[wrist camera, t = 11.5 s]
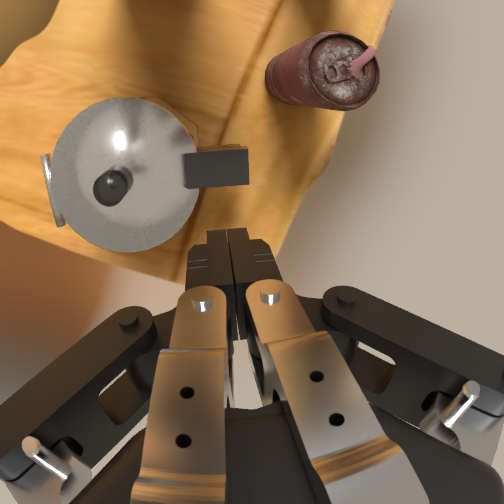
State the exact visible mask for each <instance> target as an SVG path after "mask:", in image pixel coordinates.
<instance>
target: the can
mask: <svg viewBox="0 0 504 504" xmlns="http://www.w3.org/2000/svg"><path fill="white" fill-rule="evenodd" d="M375 52H376V51H375V49H374V48H373V47H372V46H367V45H366V44H365V43H364V42H363V41H362V40H360V39H358V38H356V37H354V36H352V35H350V34H348V33H345V32H340V31H326V32H321V33H319V34H317V35H315V36H313V37H311V38H309V39H307V40H305V41H303V42H301V43H300V44H298V45H296V46H294V47H292V48H290V49H288V50H287V51H285V52H283V53H281V54H279V55H278V56H276V57H274V58H273V59H272V60H271V61H270V63H269V64H268V66H267V68H266V71H265V82H266V85H267V88H268V90H269V91H270V92H271V94H272V95H273V96H274V97H275V98H277V99H278V100H279V101H282V102H285V103H287V104H295V105H303V106H310V107H317V108H324V109H330V110H338V111H348V110H353V109H357V108H358V107H360V106H362V105H363V104H365V103H366V102H367V101H368V100H369V99H370V98H371V97H372V95H374V93H375V92H376V90H377V87H378V84H379V80H380V69H379V65H378V62H377V59H376V57H375Z"/></svg>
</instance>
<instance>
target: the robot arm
mask: <svg viewBox="0 0 504 504" xmlns="http://www.w3.org/2000/svg"><path fill="white" fill-rule="evenodd" d="M227 236H228V242H227ZM187 261H188V262H187V272H186V285H185V292H184V293H183V294H182V295H181V296H180V298H179V299H178V304H177V307H176V308H174V309H173V310H170V311H168V312H165V313H162V314H159V315H156V316H153V317H152V314H151V313H150V311H149V310H147V309H145V308H143V307H139V306H131V307H126V308H123V309H120V310H118V311H117V312H115V313H114V314H113V315H111V316H110V317H109V318H107V319H106V320H105V321H103V322H102V323H101V324H100V325H98V326H97V327H96V328H94V329H93V330H92V331H91V332H89V333H88V334H87V335H86V336H84V337H83V338H82V339H80V340H79V341H78V342H77V343H75V344H74V345H73V346H72V347H70V348H69V349H68V350H66V351H65V352H64V353H63V354H62V355H60V356H59V357H58V358H57V359H55V360H54V361H53V362H52V363H50V364H49V365H48V366H47V367H45V368H44V369H43V370H42V371H41V372H39V373H38V374H37V375H36V376H35V377H33V378H32V379H31V380H30V381H28V382H27V383H26V384H25V385H24V386H23V387H22V388H20V389H19V390H18V391H17V392H16V393H14V394H13V395H12V396H11V397H10V398H8V399H7V400H6V401H5V402H4V403H3V404H2V405H0V479H1V480H2V481H3V482H4V483H5V484H6V486H7V487H8V489H9V490H10V492H11V494H12V495H13V497H14V498H15V500H16V501H17V503H18V504H504V485H503V482H502V479H501V477H500V476H499V474H498V473H497V472H496V470H495V469H494V468H493V467H491V464H492V461H493V458H494V455H495V452H496V449H497V445H498V442H499V438H500V434H501V431H502V427H503V423H504V355H501V354H499V353H497V352H495V351H493V350H491V349H489V348H486V347H484V346H482V345H480V344H477V343H476V342H473V341H471V340H469V339H467V338H465V337H463V336H460V335H458V334H456V333H454V332H452V331H450V330H447V329H445V328H443V327H440V326H439V325H436V324H434V323H432V322H430V321H428V320H425V319H423V318H421V317H419V316H417V315H414V314H412V313H410V312H408V311H406V310H403V309H401V308H399V307H397V306H394V305H392V304H390V303H388V302H386V301H384V300H381V299H379V298H377V297H375V296H372V295H370V294H368V293H366V292H363V291H361V290H359V289H357V288H354V287H350V286H336V287H332V288H330V289H328V290H327V291H326V292H325V293H324V295H323V299H317V298H307V297H302V296H299V295H296V294H295V292H294V291H293V289H292V287H291V286H290V285H288V284H287V283H285V282H283V280H282V277H281V275H280V272H279V269H278V267H277V264H276V262H275V260H274V257H273V254H272V252H271V249H270V246H269V245H268V244H267V243H266V242H264V241H263V240H262V239H254V240H250V239H249V236H248V232H247V229H246V228H236V229H227V235H226V229H225V230H214V231H207V244H200V245H194V246H193V247H192V248H191V250H190V251H189V252H188V259H187ZM236 316H237V320H236ZM237 322H238V329H239V335H240V340H243V339H247V342H248V348H249V359H250V363H251V367H252V370H253V374H254V377H255V381H256V384H257V387H258V391H259V394H260V398H261V401H262V405H263V407H261V408H258V409H254V410H248V409H239V408H235V406H234V380H233V357H232V356H233V353H234V347H233V341H234V340H238V332H237ZM359 341H360V342H362V343H364V344H366V345H367V346H369V347H371V348H373V349H375V350H378V351H379V352H381V353H383V354H385V355H388V356H389V357H391V358H392V359H393V360H394V362H395V364H396V365H393V364H390V363H388V362H386V361H384V360H382V359H380V358H378V357H376V356H374V355H372V354H370V353H369V352H367V351H365V350H363V349H361V348H359V347H358V344H359ZM124 369H126V372H125V373H124V374H123V375H122V376H121V377H119V378H118V379H117V380H116V381H115V382H114V383H113V384H112V385H111V386H110V387H109V388H107V389H106V390H105V391H104V392H103V393H102V394H101V395H100V396H99V394H100V392H101V390H102V389H103V388H104V387H106V386H107V385H108V384H109V383H110V382H111V381H112V380H113V379H114V378H115V377H117V376H118V375H119V374H120V373H121V372H122V371H123V370H124ZM98 396H99V397H98ZM369 402H370V403H369ZM147 413H148V418H147V425H146V428H144V429H142V430H141V431H139V432H138V433H137V434H136V435H134V436H133V437H132V438H131V439H130V440H129V441H128V442H127V443H126V444H125V446H123V447H122V449H121V450H120V451H119V452H118V453H117V454H116V455H115V456H114V457H113V458H112V459H111V460H110V461H109V462H108V464H106V466H105V467H104V468H103V469H102V470H101V471H100V472H99V473H98V474H97V475H96V476H95V477H94V478H93V479H92V472H91V469H92V468H93V467H94V466H95V465H96V464H97V463H98V462H99V461H100V460H101V459H102V458H103V457H104V456H105V455H106V454H107V453H108V452H109V451H110V450H111V449H112V448H113V447H114V446H115V445H116V444H118V442H120V440H122V439H123V438H124V437H125V435H127V434H128V433H129V432H130V431H131V430H132V429H133V428H134V427H135V425H137V424H138V422H139V421H140V420H141V419H142V418H143V417H144V416H145V415H146V414H147ZM392 414H393V415H392ZM394 415H395V416H394ZM396 416H397V417H396ZM399 418H400V419H399ZM401 419H402V420H401ZM403 420H404V421H403ZM405 421H407V422H408V423H410V424H412V425H414V426H416V427H418V428H420V430H419V429H418V428H416V427H414V426H412V425H410V424H408V423H406V422H405Z"/></svg>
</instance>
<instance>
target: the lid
mask: <svg viewBox="0 0 504 504" xmlns="http://www.w3.org/2000/svg"><path fill="white" fill-rule="evenodd" d="M40 157H41V162H42V168H43V173H44V177H45V182H46V187H47V191H48V195H49V199H50V203H51V207H52V211H53V215H54V218H55V222H56V225H57V227H62V226H64V225H65V224H66V222H67V223H68V224H69V226H70V227H71V228H72V229H73V230H74V231H75V232H76V233H77V234H79V235H80V236H81V237H82V238H84V239H85V240H87V241H88V242H90V243H92V244H94V245H96V246H98V247H101V248H103V249H106V250H110V251H115V252H124V253H127V252H139V251H144V250H148V249H151V248H154V247H156V246H158V245H160V244H162V243H164V242H165V241H167V240H169V239H170V238H171V237H172V236H174V235H175V234H176V233H177V232H178V231H179V230H180V229H181V228H182V227H183V225H184V224H185V223H186V221H187V220H188V218H189V216H190V215H191V213H192V211H193V209H194V206H195V204H196V201H197V197H198V193H199V188H210V187H222V186H235V185H249V162H248V148H247V146H244V147H228V148H214V149H202V150H197V149H196V146H195V144H194V141H193V139H192V137H191V135H190V134H189V132H188V131H187V129H186V128H185V126H184V125H183V124H182V123H181V121H180V120H179V119H178V118H177V117H175V116H174V115H173V114H172V113H171V112H169V111H168V110H166V109H165V108H163V107H162V106H160V105H158V104H156V103H153V102H150V101H147V100H144V99H139V98H114V99H108V100H104V101H101V102H98V103H96V104H94V105H92V106H90V107H88V108H86V109H85V110H83V111H82V112H80V113H79V114H78V115H77V116H76V117H75V118H74V119H72V121H71V122H70V123H69V124H68V125H67V126H66V128H65V129H64V131H63V132H62V134H61V136H60V138H59V140H58V142H57V144H56V147H55V150H54V153H53V157H52V160H51V155H50V153H47V154H44V155H42V156H40ZM65 220H66V222H65Z"/></svg>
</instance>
